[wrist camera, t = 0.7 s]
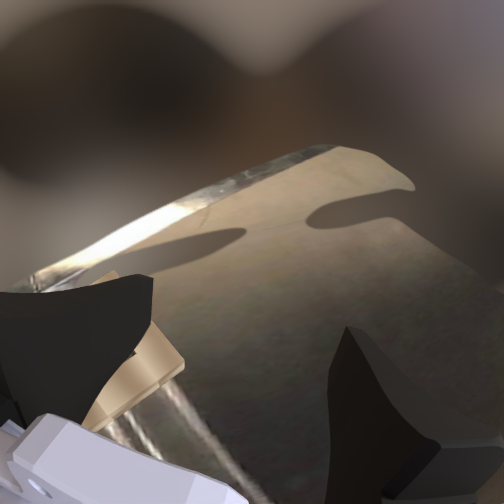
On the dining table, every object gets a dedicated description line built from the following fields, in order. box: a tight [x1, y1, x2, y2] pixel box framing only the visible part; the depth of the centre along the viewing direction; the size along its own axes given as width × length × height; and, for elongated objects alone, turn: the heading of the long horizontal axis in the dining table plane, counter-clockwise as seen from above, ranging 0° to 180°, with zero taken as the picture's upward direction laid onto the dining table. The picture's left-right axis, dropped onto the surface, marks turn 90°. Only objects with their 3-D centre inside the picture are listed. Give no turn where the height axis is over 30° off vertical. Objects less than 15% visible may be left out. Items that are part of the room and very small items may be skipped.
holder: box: [81, 270, 185, 433], centre depth 21 cm, size 16×10×2 cm, turn 135°
